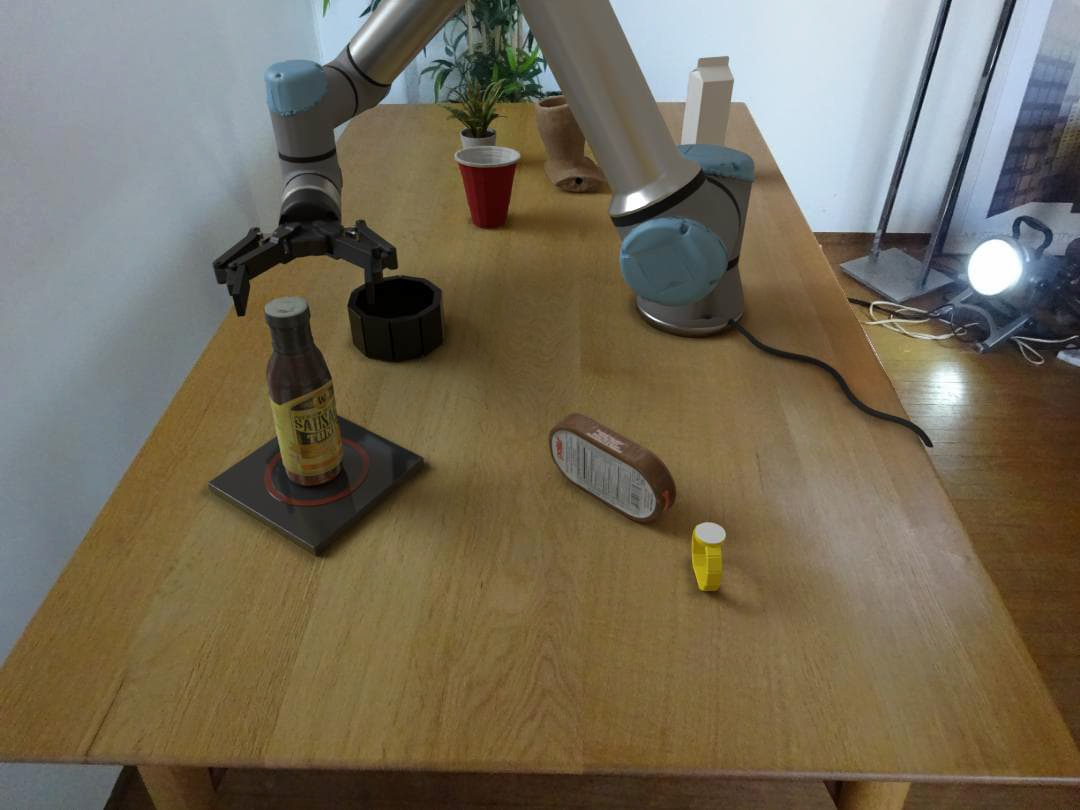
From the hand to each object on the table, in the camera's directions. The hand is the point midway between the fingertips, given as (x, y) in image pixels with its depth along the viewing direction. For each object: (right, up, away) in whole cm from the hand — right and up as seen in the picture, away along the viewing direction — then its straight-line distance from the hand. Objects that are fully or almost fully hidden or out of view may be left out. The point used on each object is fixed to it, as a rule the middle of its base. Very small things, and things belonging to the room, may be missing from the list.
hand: (304, 299), depth 86 cm
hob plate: (+1, -19, +1) cm, 19 cm away
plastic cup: (+16, +20, +53) cm, 59 cm away
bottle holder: (+6, -2, +24) cm, 25 cm away
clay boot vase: (+30, +31, +67) cm, 80 cm away
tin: (+32, -21, 0) cm, 38 cm away
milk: (+55, +32, +68) cm, 94 cm away
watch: (+40, -28, -9) cm, 50 cm away
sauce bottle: (+1, -18, +1) cm, 18 cm away
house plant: (+13, +37, +75) cm, 84 cm away
